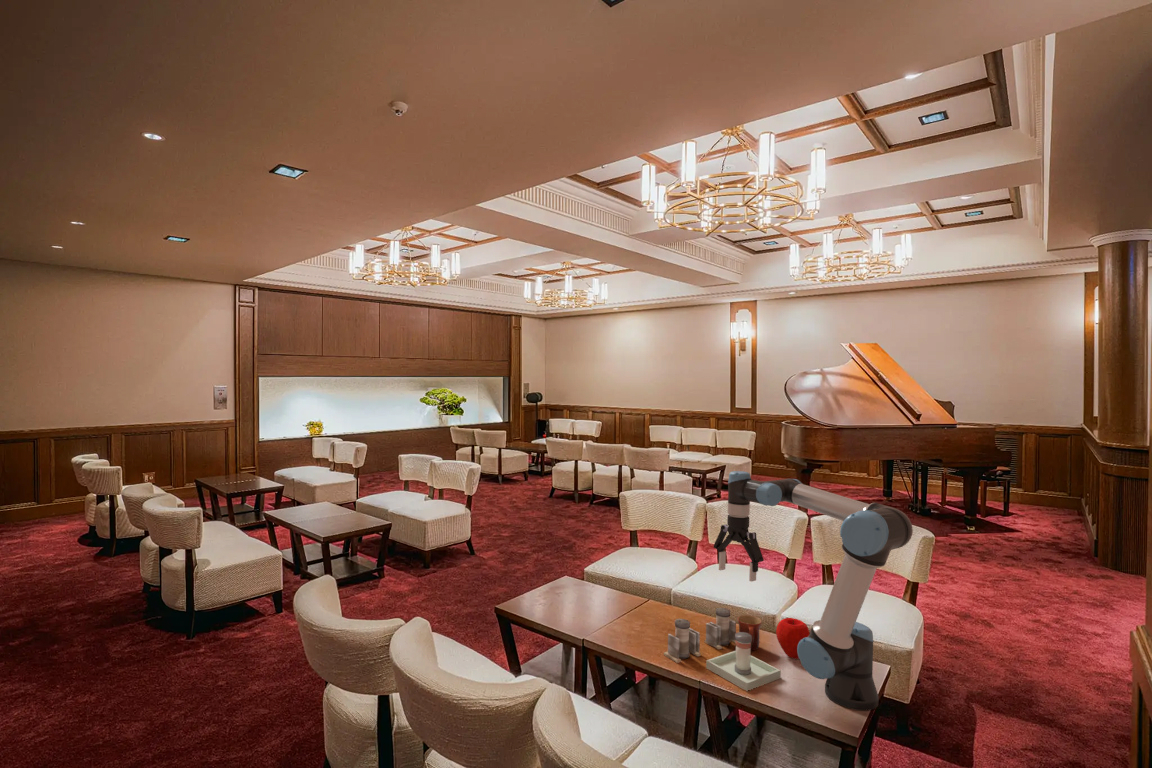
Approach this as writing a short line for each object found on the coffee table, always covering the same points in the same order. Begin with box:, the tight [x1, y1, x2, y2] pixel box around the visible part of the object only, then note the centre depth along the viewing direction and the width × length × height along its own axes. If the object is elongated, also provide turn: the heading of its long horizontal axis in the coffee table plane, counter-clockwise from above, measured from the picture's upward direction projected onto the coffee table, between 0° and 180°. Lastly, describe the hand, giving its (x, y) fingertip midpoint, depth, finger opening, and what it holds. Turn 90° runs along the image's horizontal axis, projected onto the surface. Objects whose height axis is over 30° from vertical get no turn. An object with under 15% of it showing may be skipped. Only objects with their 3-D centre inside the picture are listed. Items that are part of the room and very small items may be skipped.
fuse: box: [735, 631, 752, 675], centre depth 191 cm, size 5×5×12 cm
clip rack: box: [663, 607, 737, 664], centre depth 209 cm, size 7×32×12 cm, turn 123°
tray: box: [705, 650, 782, 692], centre depth 191 cm, size 18×17×3 cm
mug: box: [737, 614, 763, 652], centre depth 209 cm, size 12×9×10 cm
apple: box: [775, 617, 810, 660], centre depth 204 cm, size 12×12×13 cm
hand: (736, 575), depth 200 cm, fingers open, 13 cm apart
